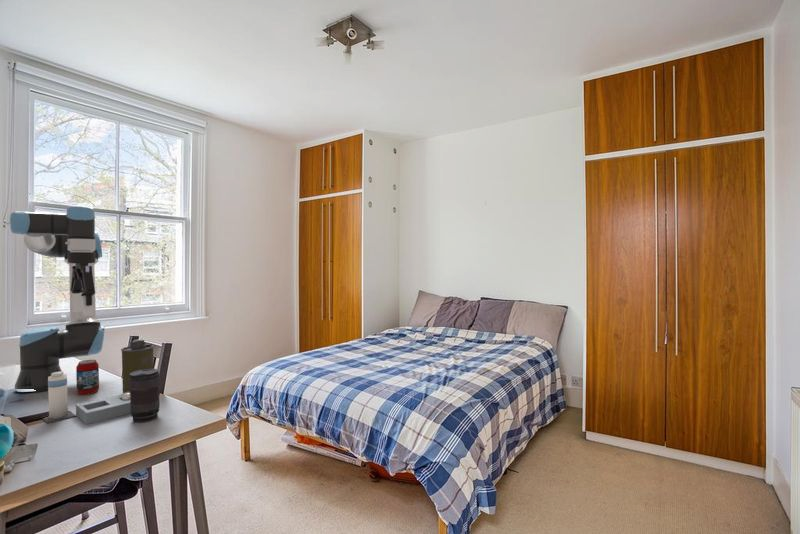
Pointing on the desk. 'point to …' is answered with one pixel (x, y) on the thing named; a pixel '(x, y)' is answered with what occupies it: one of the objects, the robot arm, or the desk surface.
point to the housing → (102, 409)
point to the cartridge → (57, 395)
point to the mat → (59, 418)
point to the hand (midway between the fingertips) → (82, 313)
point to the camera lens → (144, 394)
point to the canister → (135, 360)
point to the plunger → (126, 396)
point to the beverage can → (87, 377)
